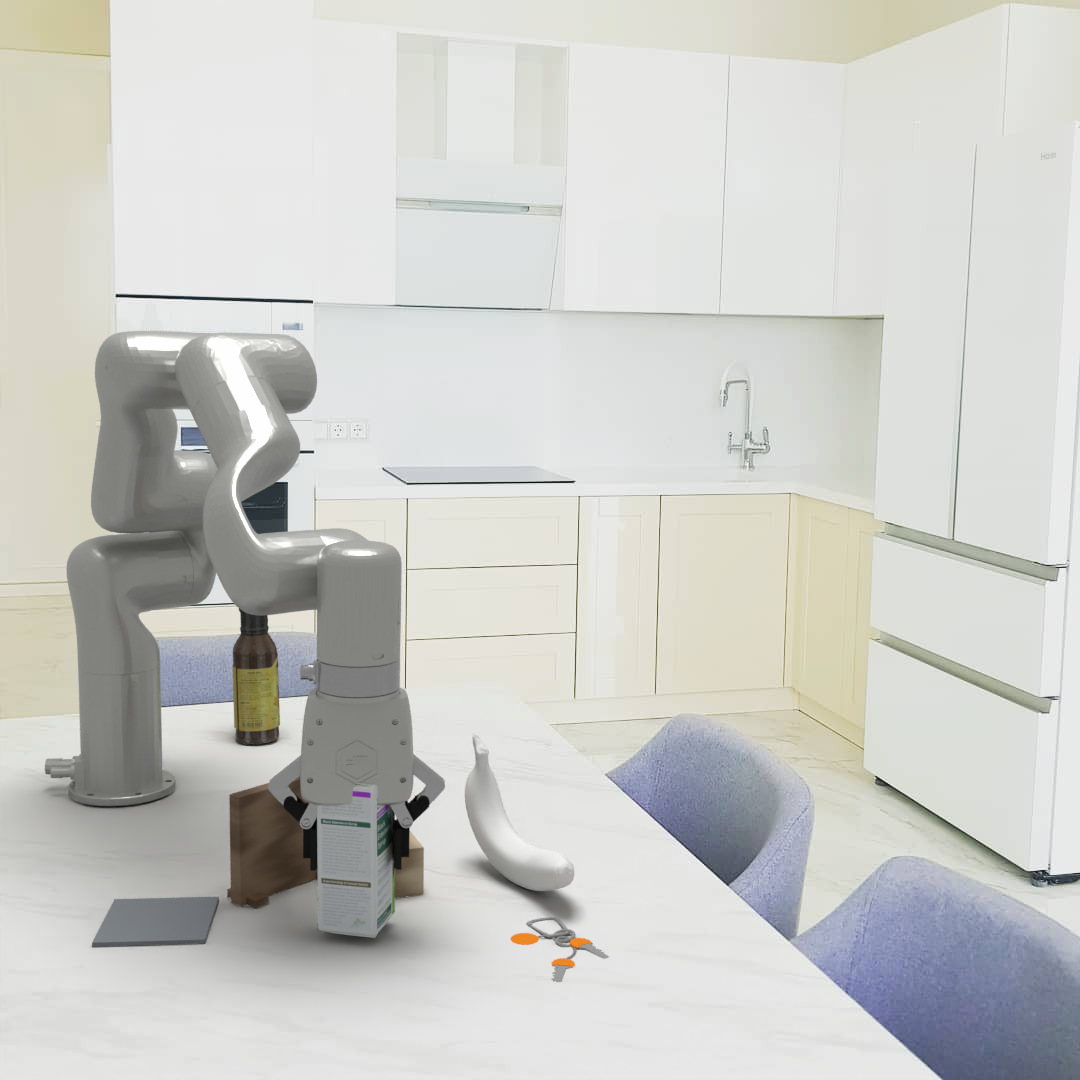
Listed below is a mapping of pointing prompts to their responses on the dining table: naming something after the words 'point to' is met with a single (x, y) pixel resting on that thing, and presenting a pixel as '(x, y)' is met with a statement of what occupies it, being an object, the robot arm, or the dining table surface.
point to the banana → (508, 834)
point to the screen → (264, 847)
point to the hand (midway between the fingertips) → (356, 863)
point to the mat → (157, 921)
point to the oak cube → (411, 871)
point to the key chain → (575, 943)
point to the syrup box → (356, 864)
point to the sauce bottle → (255, 682)
